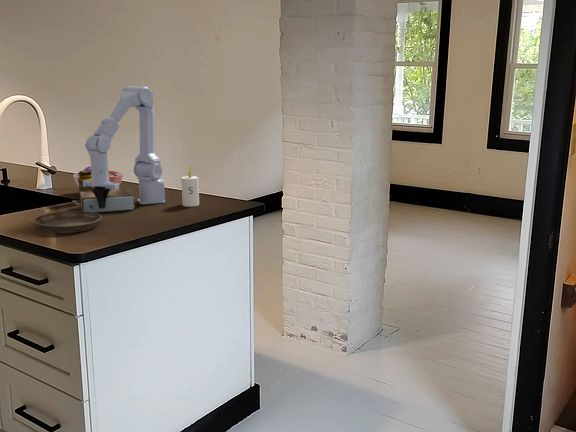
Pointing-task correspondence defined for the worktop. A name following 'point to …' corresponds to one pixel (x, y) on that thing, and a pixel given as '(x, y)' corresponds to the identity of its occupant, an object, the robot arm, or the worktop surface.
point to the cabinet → (110, 195)
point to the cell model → (113, 176)
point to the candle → (190, 190)
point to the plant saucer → (68, 221)
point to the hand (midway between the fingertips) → (102, 207)
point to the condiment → (82, 177)
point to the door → (109, 204)
